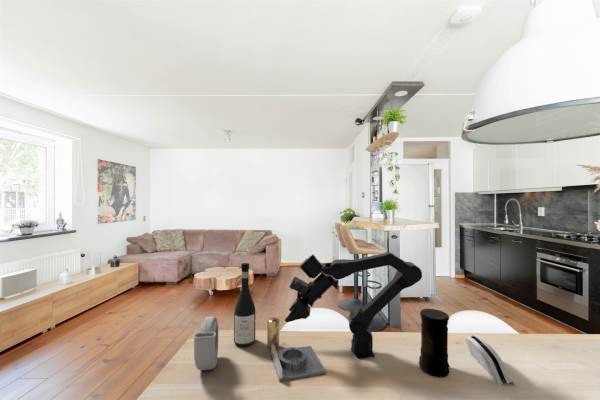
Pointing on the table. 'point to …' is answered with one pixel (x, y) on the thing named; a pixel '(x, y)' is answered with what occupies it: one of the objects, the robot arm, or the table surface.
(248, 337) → the wine bottle
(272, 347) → the jig
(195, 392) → the table surface
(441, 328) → the container
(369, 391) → the table surface
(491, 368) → the grey curved piece
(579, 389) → the table surface
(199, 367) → the grey curved holder
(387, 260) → the robot arm
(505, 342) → the table surface
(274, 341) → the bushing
